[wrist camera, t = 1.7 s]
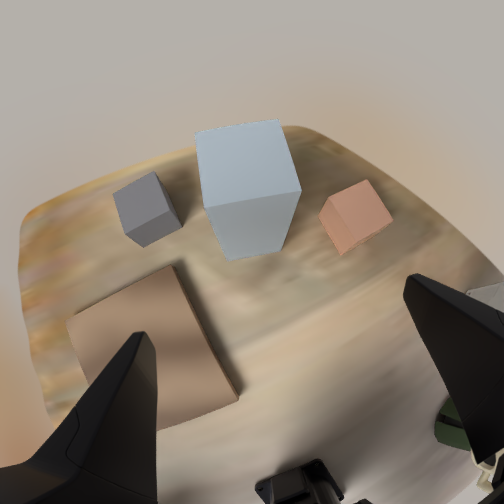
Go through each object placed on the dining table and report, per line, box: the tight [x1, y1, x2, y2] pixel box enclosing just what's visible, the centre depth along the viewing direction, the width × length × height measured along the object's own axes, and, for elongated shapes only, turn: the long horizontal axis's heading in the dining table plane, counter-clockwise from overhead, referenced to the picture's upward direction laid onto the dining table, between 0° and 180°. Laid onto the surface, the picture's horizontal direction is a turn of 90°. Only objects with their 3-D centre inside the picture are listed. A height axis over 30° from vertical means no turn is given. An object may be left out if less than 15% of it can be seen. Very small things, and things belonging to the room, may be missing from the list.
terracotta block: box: [318, 179, 394, 255], centre depth 22 cm, size 4×4×4 cm
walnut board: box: [65, 265, 239, 431], centre depth 20 cm, size 12×12×1 cm
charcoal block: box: [113, 171, 182, 248], centre depth 22 cm, size 4×4×4 cm
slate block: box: [195, 119, 302, 261], centre depth 18 cm, size 4×4×11 cm
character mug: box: [435, 397, 504, 494], centre depth 12 cm, size 11×7×13 cm, turn 162°
